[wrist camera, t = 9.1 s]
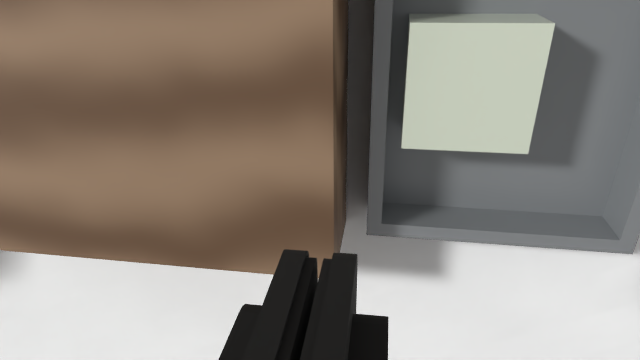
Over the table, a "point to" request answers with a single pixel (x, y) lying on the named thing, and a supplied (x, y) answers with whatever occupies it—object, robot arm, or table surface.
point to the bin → (545, 147)
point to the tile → (473, 81)
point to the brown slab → (174, 130)
